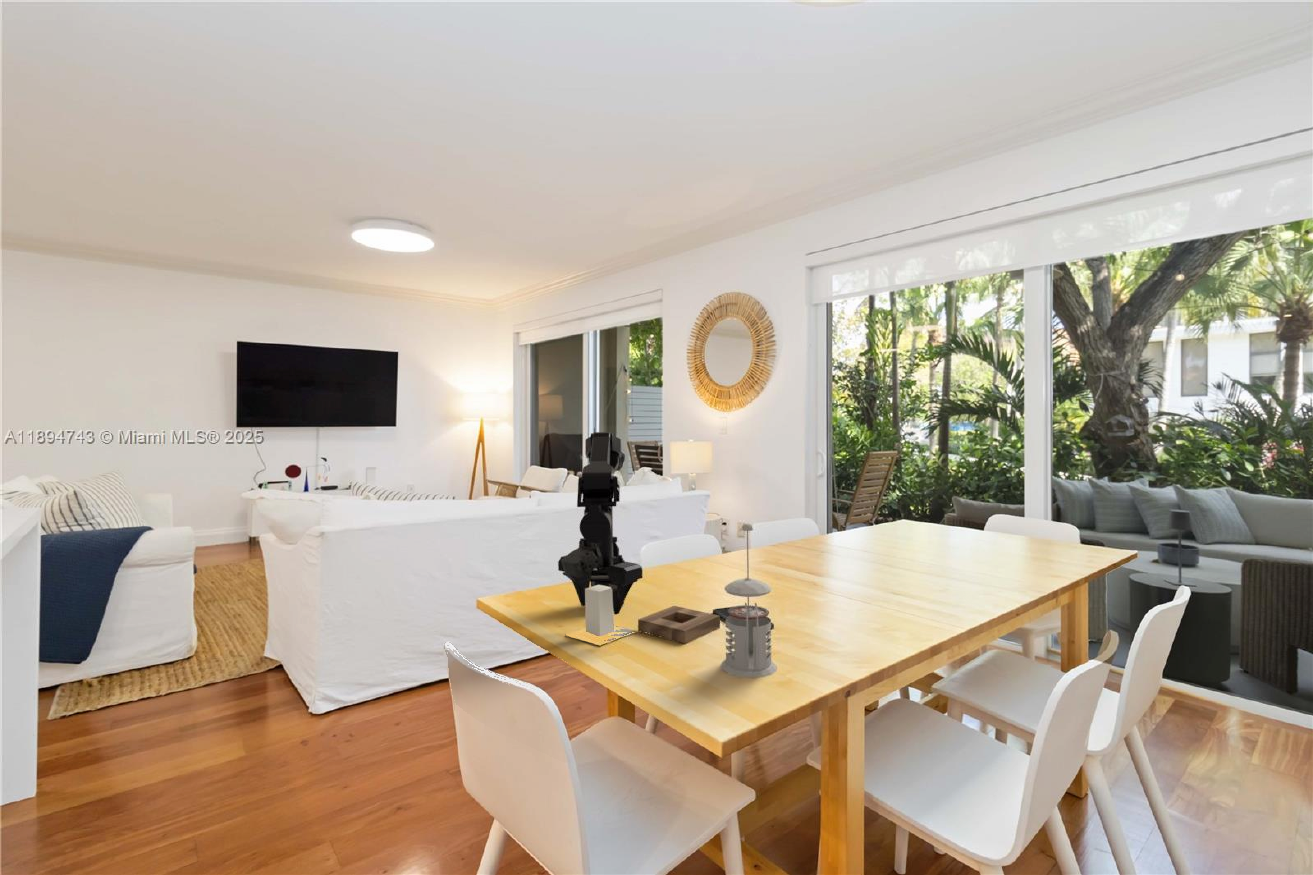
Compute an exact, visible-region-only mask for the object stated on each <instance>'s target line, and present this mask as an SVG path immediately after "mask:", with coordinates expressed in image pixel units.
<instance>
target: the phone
mask: <svg viewBox="0 0 1313 875" xmlns="http://www.w3.org/2000/svg"><path fill="white" fill-rule="evenodd" d="M732 607H733V606H730V607H720V608H714V609H712V614H714V615H719V616H720V621H722V622H724V623H726V618H727V617H728V616H730V615H729V613H728V609H730V608H732ZM758 627H759V626H758ZM774 629H775V624H774V623H773V622H771V628H770V630H774Z"/></svg>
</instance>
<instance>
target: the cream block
mask: <svg viewBox="0 0 1313 875" xmlns="http://www.w3.org/2000/svg"><path fill="white" fill-rule="evenodd" d="M584 608H585V609H584V610H585V615H584V616H585V627H586V632H589V633H591V634H594V635H596V636H603V635H606V634H608V633H611V632H614V625H615V624H614V619H615V618H614V615H615V614H614V611H613V596H612V588H611V587H608V586H603V585H596V586H593V587H591V586H589V588H586V589H585V606H584Z"/></svg>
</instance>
